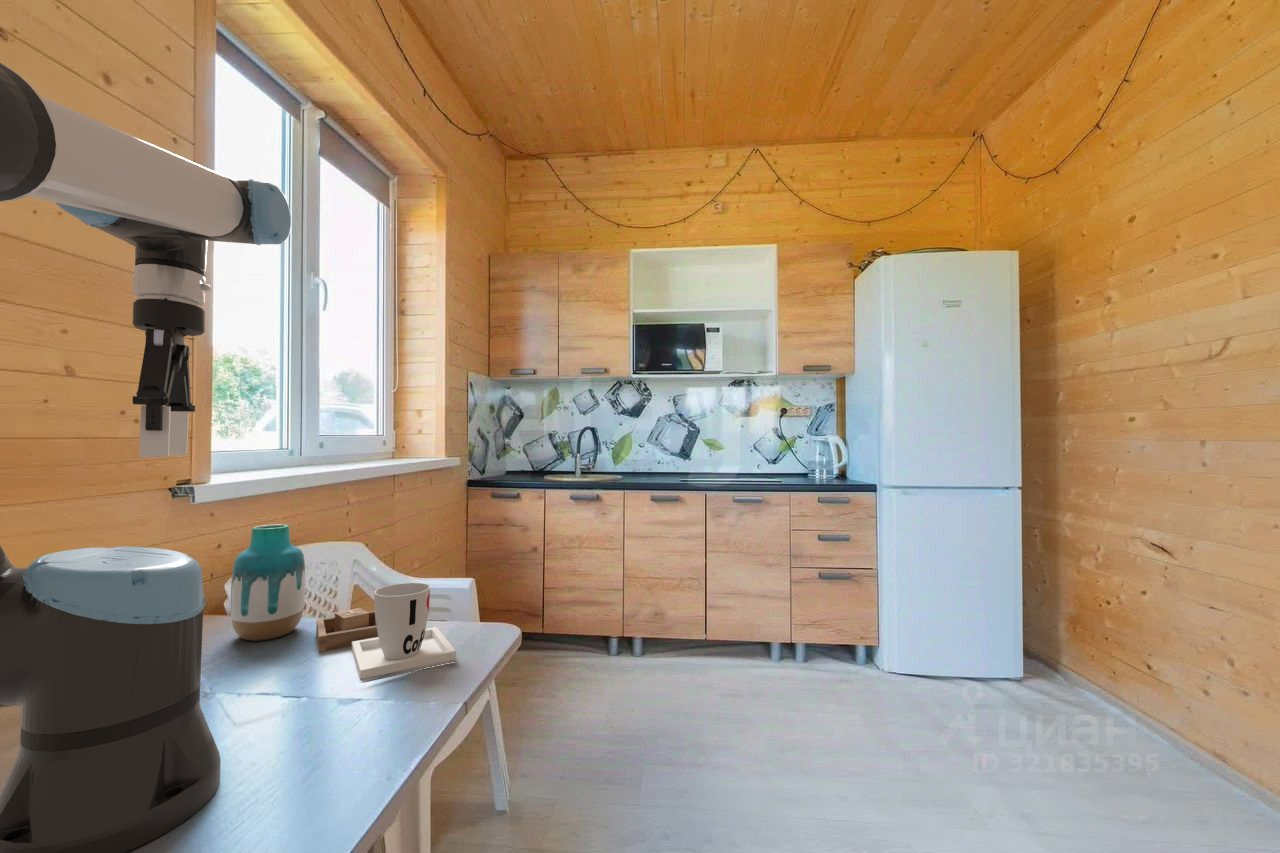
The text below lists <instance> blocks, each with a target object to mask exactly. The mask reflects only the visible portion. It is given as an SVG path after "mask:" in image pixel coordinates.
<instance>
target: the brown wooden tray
mask: <svg viewBox="0 0 1280 853" xmlns="http://www.w3.org/2000/svg"><path fill="white" fill-rule="evenodd" d="M368 612H369V627H363V628H357V629H351V630H345V631H339V632H335V616H331V617H325V618H316V620H315V621H316V624H315V626H316V629H315V635H316V643H317V644H316V645H317V650H318V653H323V652H327V651H333V650H334V651H335V650H340V649H345V648H352V642H353V641H359V640H364V639H370V638H376V637H378V631H377V625H376V619H375V610H371V611H368Z"/></svg>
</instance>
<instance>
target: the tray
mask: <svg viewBox="0 0 1280 853" xmlns="http://www.w3.org/2000/svg"><path fill="white" fill-rule="evenodd" d="M351 652H352V655H353V659H354V663H355V665H356V669H357V672H358V676H359V679H360V680H364V679H368V678H373V677H376V678H373V679H370V680H366V681H363V682H362V684H363V683H369V682H372V681H378V680H382V679H386V678H387V679H388V678H391V677H396V676H401V675H406V674H410V673H409V672H411V673H414V672H413V671H415V670H419V669H424V668H427V667H432V666H437V665H441V664H446V663H451V662H457V659H456V656H457V655H456V654H457V651H456V649H455V648H454V647H453V646H452V644H451V643H450V642H449V641H448V639H447V638H446V637H445V636H444V634H443V633H442V632H441V631H440V629H439V628H438V627H437V626H433V627H428V628H427V627H426V630H425V635H424V638H423V641H422V644H421V647H420V651H419V653H418V654H416V655H415V656H412V657H409V658H405V659H399V660H391V659H386V658H385V657H384V654H383V651H382V648H381V645H380V642H379V637H376V638H370V639H364V640H359V641H353V642H352V647H351ZM405 673H406V674H405ZM378 676H379V677H378Z"/></svg>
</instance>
